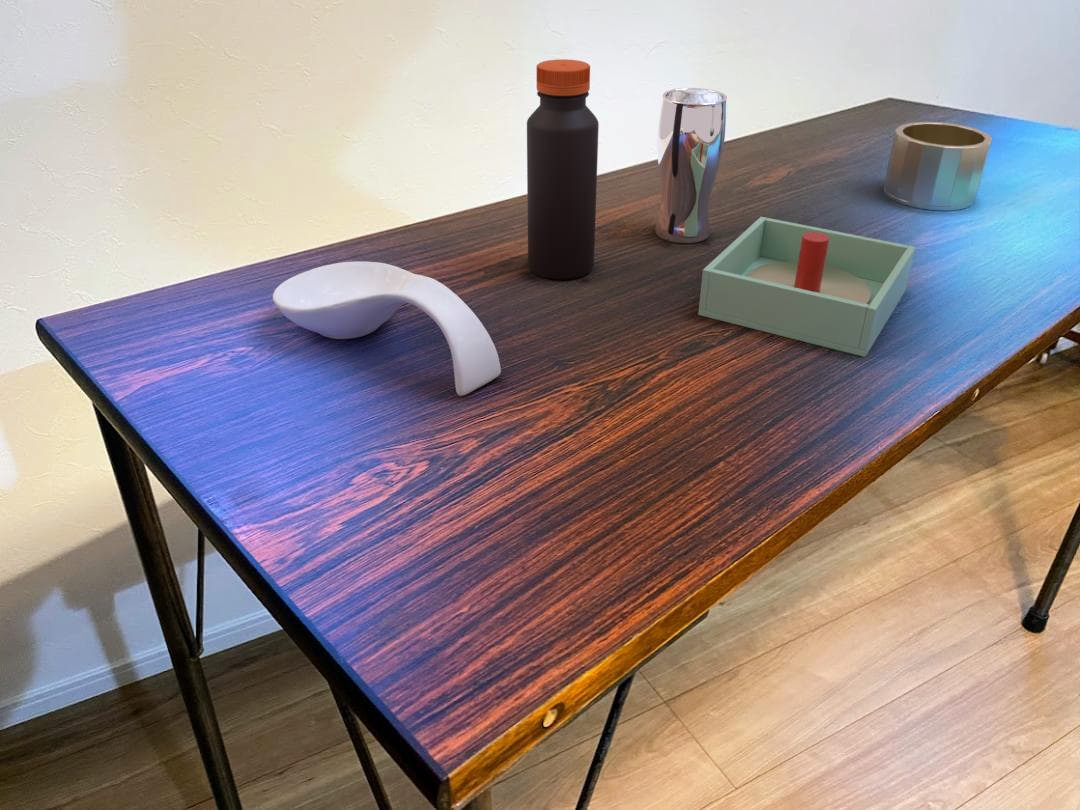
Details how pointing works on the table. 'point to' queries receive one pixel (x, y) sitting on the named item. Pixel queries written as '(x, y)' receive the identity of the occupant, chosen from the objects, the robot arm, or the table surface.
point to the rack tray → (801, 309)
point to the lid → (815, 272)
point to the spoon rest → (388, 311)
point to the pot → (936, 165)
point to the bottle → (562, 172)
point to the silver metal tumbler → (689, 161)
